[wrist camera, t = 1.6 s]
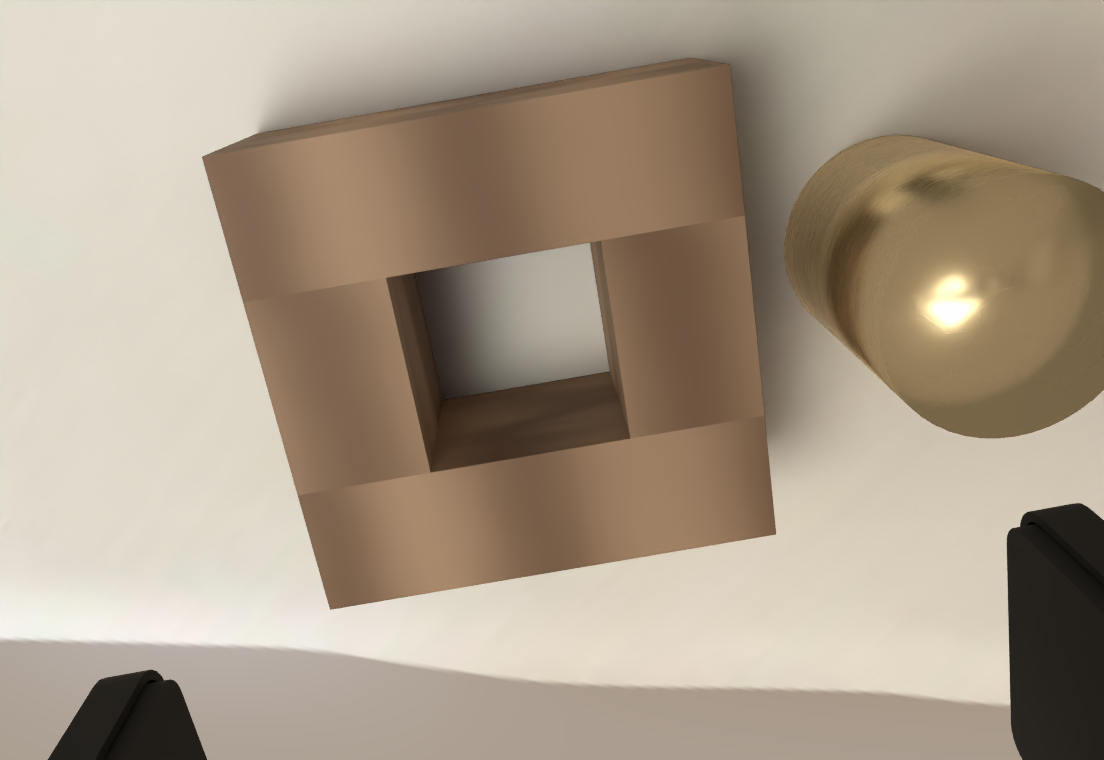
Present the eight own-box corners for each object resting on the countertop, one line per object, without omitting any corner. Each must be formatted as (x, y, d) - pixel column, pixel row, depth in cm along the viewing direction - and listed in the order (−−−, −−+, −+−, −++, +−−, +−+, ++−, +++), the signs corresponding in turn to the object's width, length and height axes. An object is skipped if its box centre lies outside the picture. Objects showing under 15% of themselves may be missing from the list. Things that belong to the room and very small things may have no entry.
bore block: (689, 57, 31) (730, 64, 26) (733, 454, 36) (776, 534, 30) (256, 133, 31) (202, 157, 26) (357, 518, 36) (330, 609, 30)
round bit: (986, 118, 32) (1156, 150, 24) (988, 319, 35) (1145, 414, 26) (776, 155, 32) (871, 199, 24) (792, 353, 35) (885, 458, 26)
